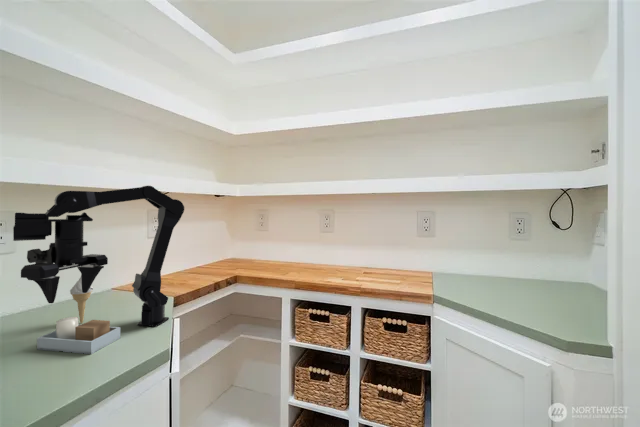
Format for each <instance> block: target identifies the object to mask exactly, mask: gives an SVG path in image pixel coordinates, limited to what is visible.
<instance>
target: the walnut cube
mask: <svg viewBox="0 0 640 427" xmlns="http://www.w3.org/2000/svg"><path fill="white" fill-rule="evenodd" d="M110 323H111V321H110V320H103V319H102V320H101V319H91V320H89V321H86V322H83V323H81V325H79V326H77V327H76V330H75V340H85V341H92V340H94V339H96V338H98V337H100V336H102V335H104V334H106V333H108V332H110V327H111V324H110Z"/></svg>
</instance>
